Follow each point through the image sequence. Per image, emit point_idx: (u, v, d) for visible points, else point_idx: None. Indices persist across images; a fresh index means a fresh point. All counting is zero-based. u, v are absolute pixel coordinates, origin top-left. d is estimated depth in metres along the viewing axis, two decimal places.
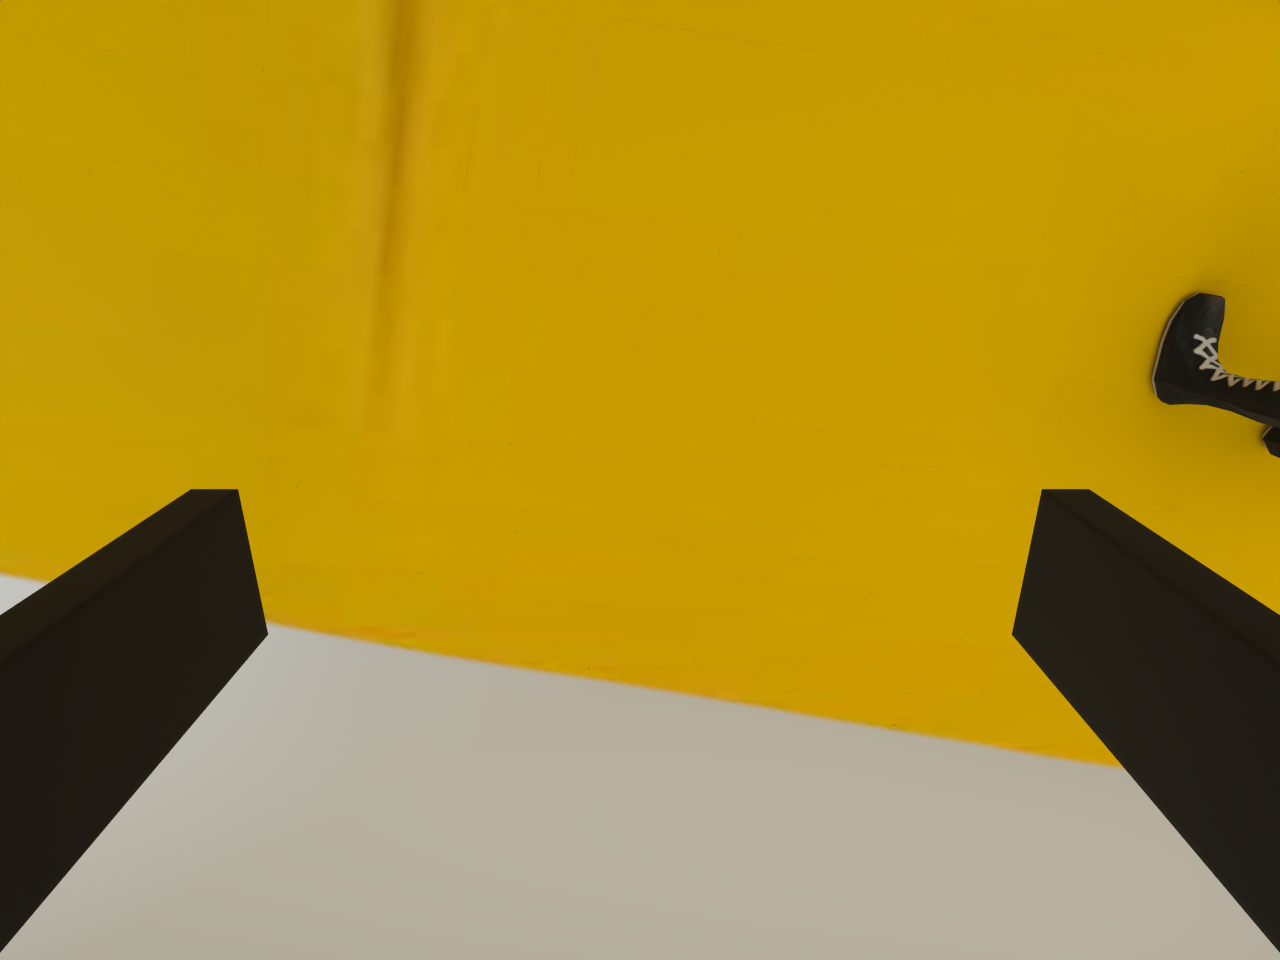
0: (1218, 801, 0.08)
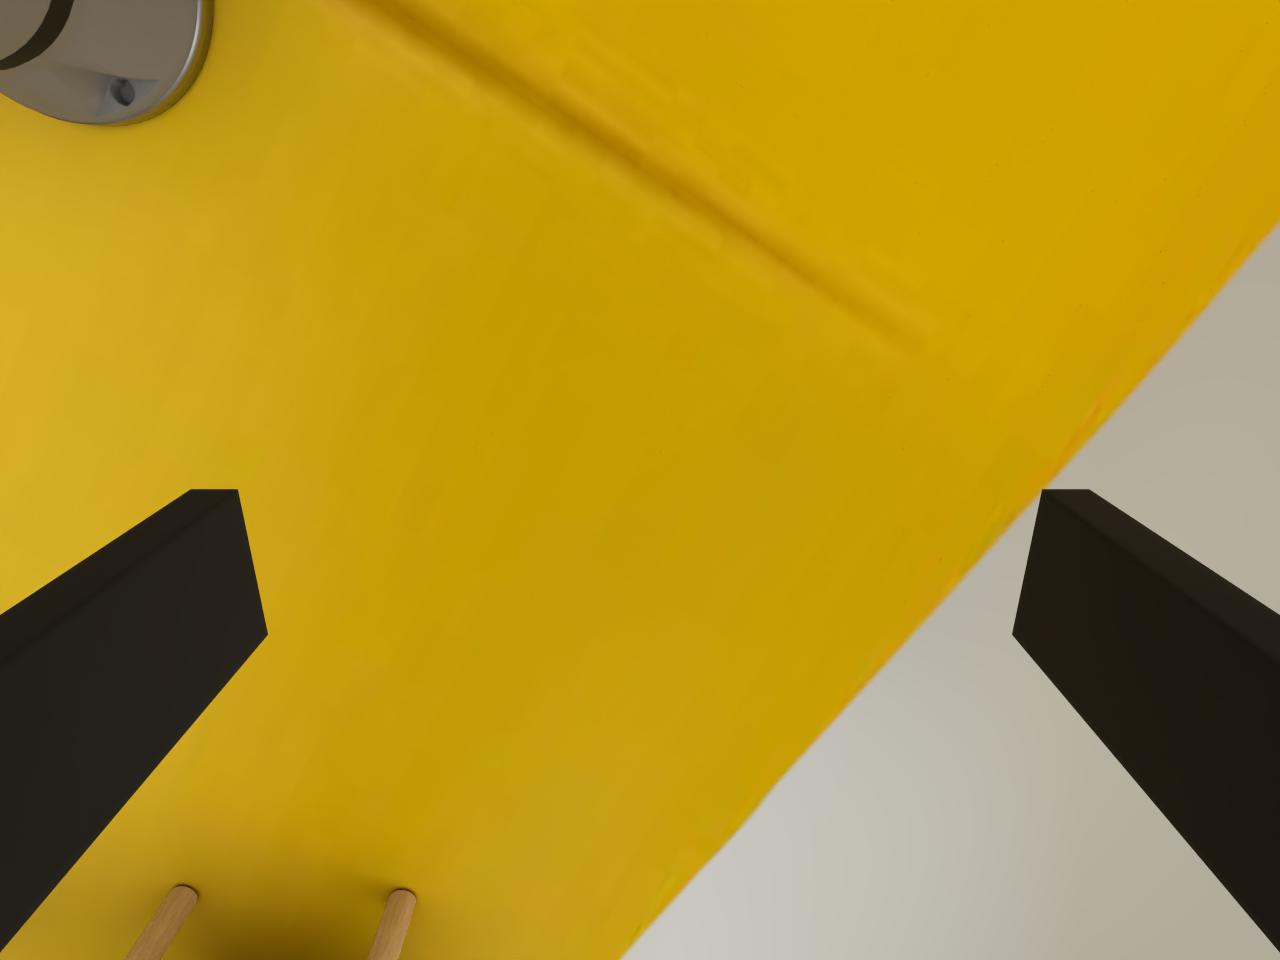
0: (1218, 801, 0.08)
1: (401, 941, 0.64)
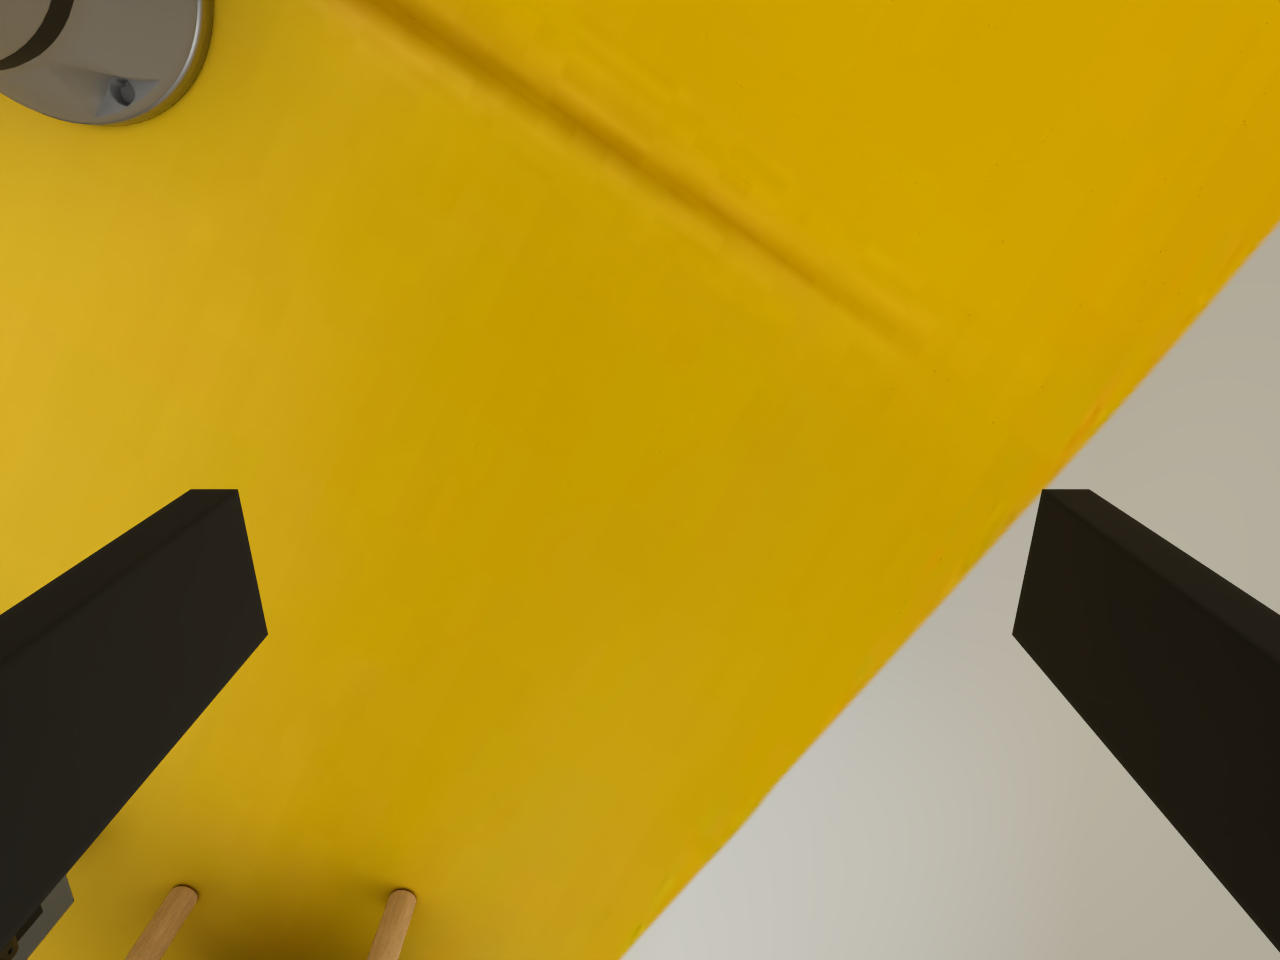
0: (1218, 801, 0.08)
1: (401, 941, 0.64)
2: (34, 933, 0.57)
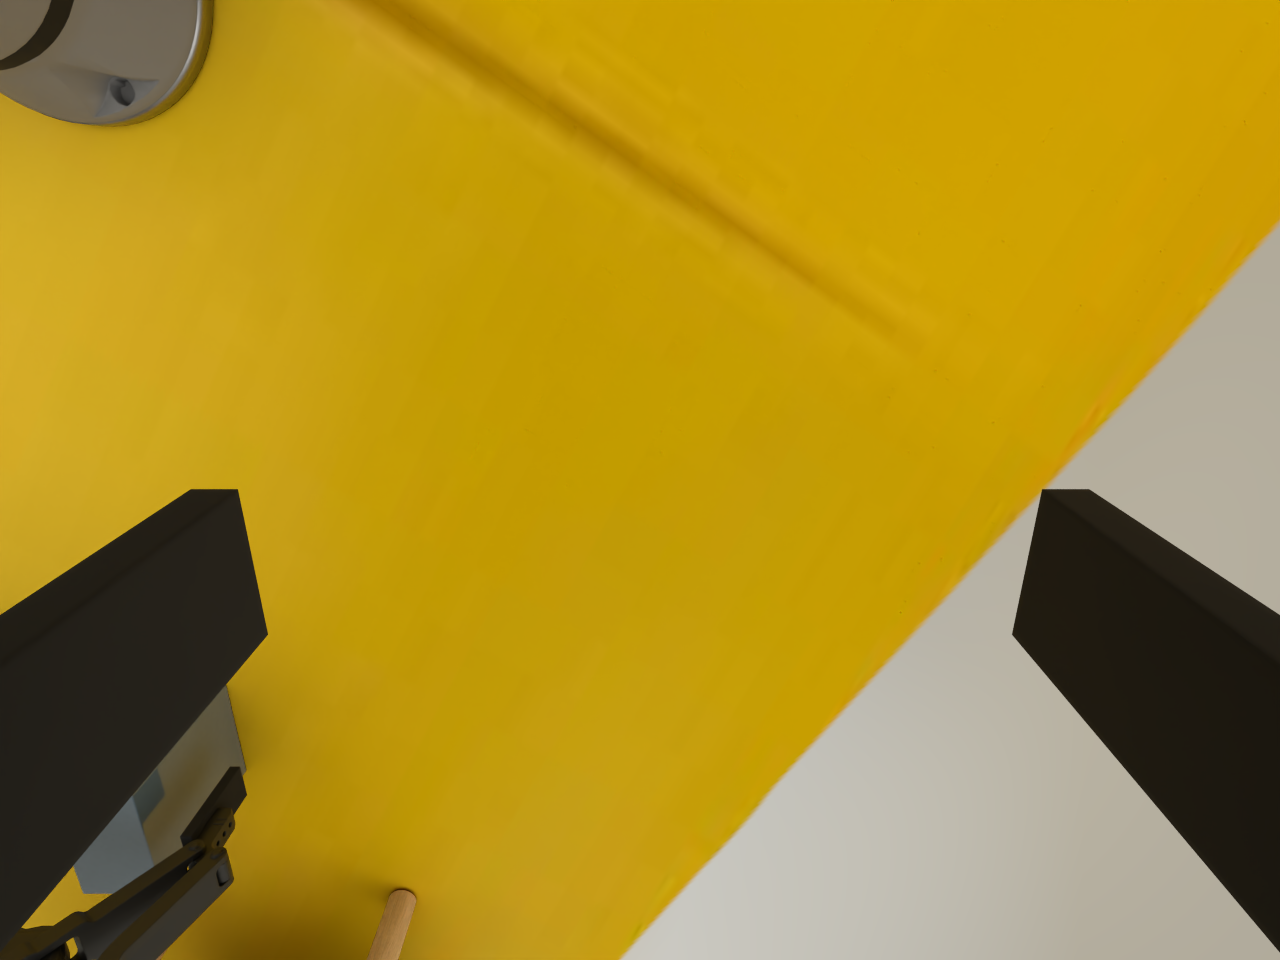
0: (1218, 801, 0.08)
1: (401, 941, 0.64)
2: None
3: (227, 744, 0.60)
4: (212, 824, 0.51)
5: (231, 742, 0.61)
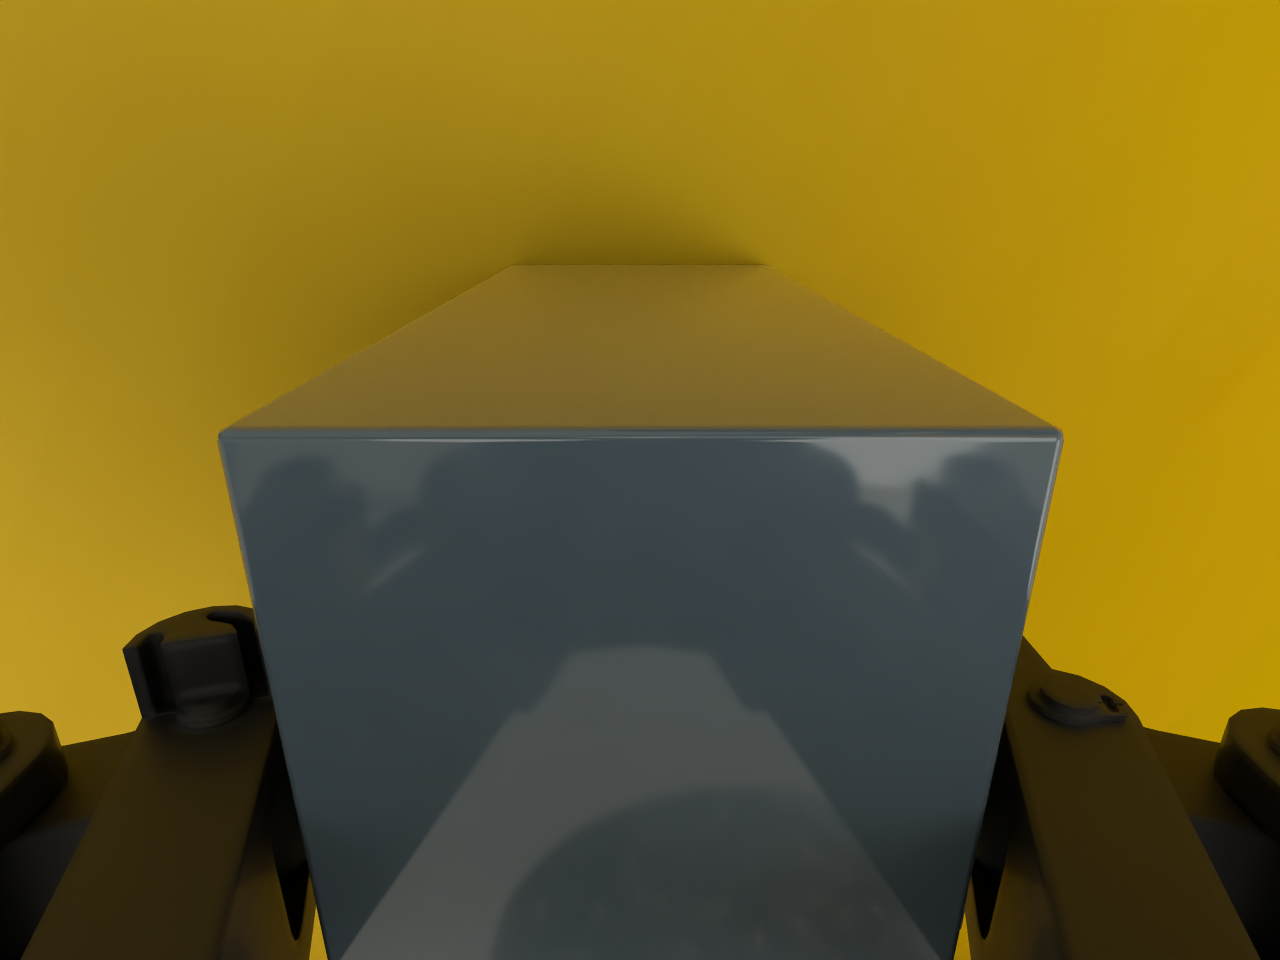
0: None
1: None
2: None
3: None
4: None
5: None
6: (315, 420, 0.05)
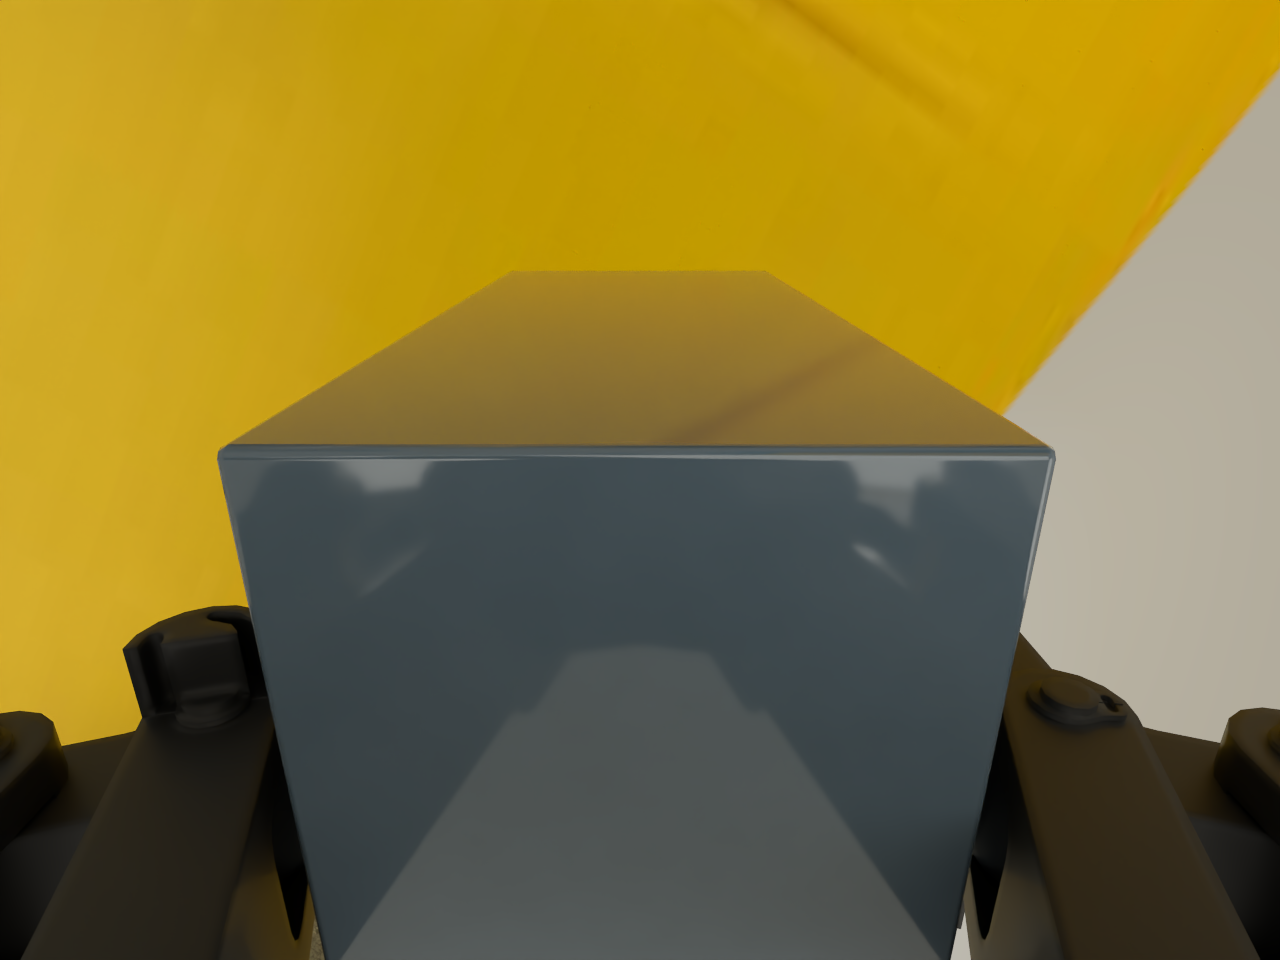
0: None
1: None
2: None
3: None
4: None
5: None
6: (315, 437, 0.05)
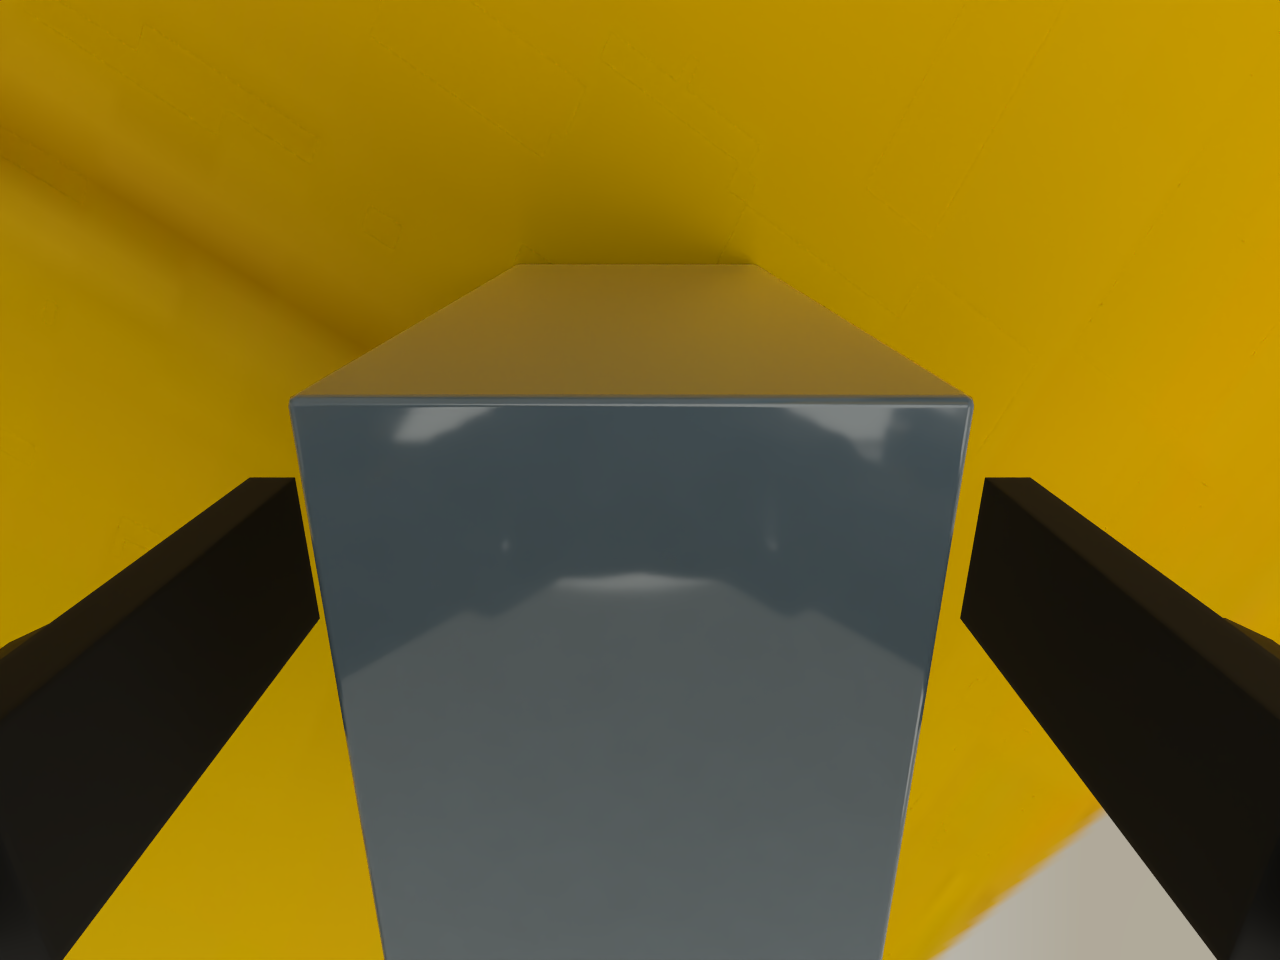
0: (1127, 767, 0.09)
1: None
2: None
3: None
4: None
5: None
6: (366, 390, 0.06)
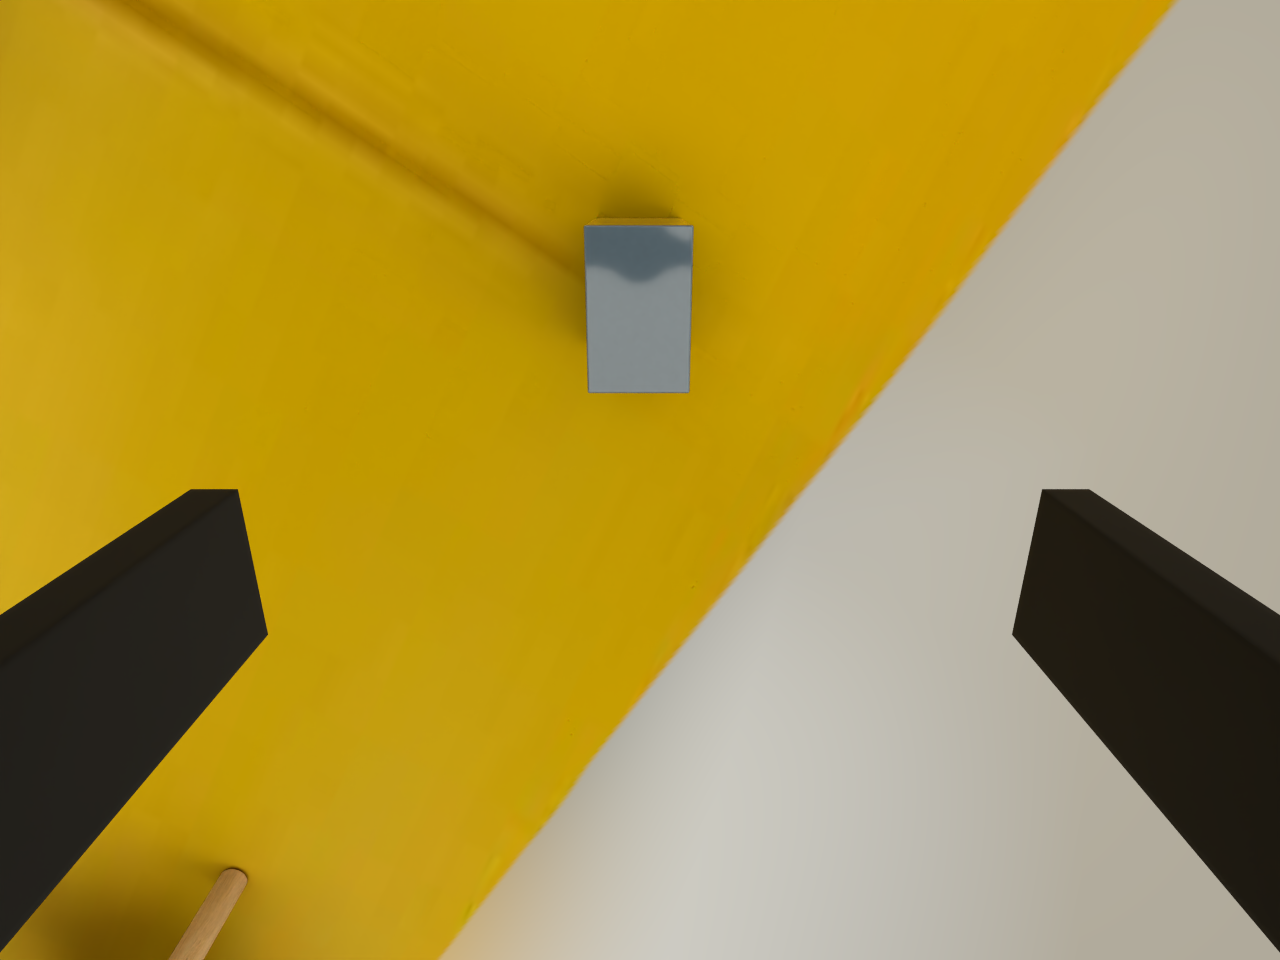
0: (1218, 801, 0.08)
1: (222, 918, 0.65)
2: None
3: None
4: None
5: None
6: (595, 224, 0.38)
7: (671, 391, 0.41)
